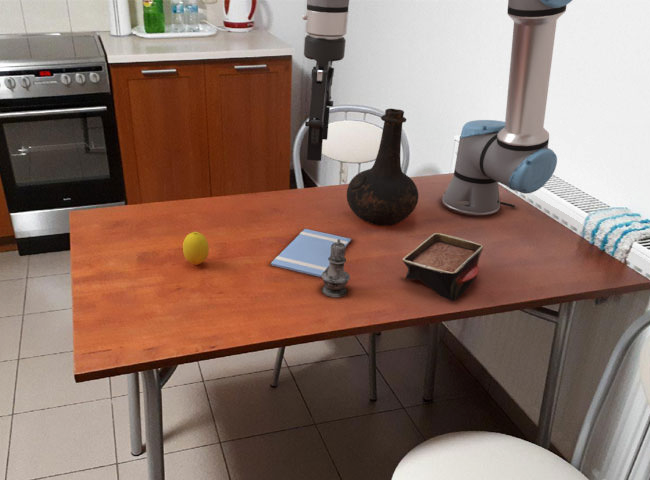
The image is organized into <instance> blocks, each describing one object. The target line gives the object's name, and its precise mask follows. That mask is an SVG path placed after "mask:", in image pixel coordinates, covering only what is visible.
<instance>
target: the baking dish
mask: <svg viewBox="0 0 650 480" xmlns="http://www.w3.org/2000/svg"><path fill="white" fill-rule="evenodd" d="M483 250H484V245H483V244H481V243H478V242H475V241H472V240H469V239H465V238H463V237H458V236H454V235H449V234H446V233H440V232H434V233H432V234H431V235H429V236H428V237H427V238H425V240H423V241H422V242H421V243H420V244H419V245H418V246H417V247H415V248H414V249H413V250H412V251H410V252H409V253H408V254H406V255H405V256H404V257H403V258H402V259H401V260H402V262H403V263H404V264H405V266H406V267H407V272H406V276H405V280H419V281H420V282H422V283H423V284H424V285H425V286H427V287H428V288H430V290H432V291H433V292H434V293H436V294H437V295H439V296H440V297H442V298H444V299H447V300H449V301H451V302H454V301H456V300H458V298H460V297H461V295H463V294H464V293H465V292H466V291H467V290H468V289H469V287H470V286H471V285H472V284H473V282H475V280H476V279H477V277H478V274H479V271H480V268H479V265H478V264H479V261H480V257H481V255H482V252H483Z"/></svg>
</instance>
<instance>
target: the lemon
mask: <svg viewBox="0 0 650 480" xmlns="http://www.w3.org/2000/svg"><path fill="white" fill-rule="evenodd" d="M209 246H210V245H209V242H208V240H207V237H206V236H205V235H204V234H203V233H201V232H197V231H193V232H190V233H188V234H187V235H186V236H185V238H184V240H183V243H182V252H183V253H182V254H183V256H184V258H185V259H186V261H187V262H189V263H191V264H194V265H195V266H198V265H199V264H202V263H204V261H206V259H207V258H208V256H209V251H210V247H209Z"/></svg>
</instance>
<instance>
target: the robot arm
mask: <svg viewBox="0 0 650 480" xmlns="http://www.w3.org/2000/svg"><path fill="white" fill-rule="evenodd" d="M507 1H508V2H507V15H508V17H509V18H510V19H511V20H512V21H513V30H512V38H511V39H512V40H511V50H510V51H511V52H510V63H509V73H508V75H509V76H508V84H507V85H508V87H507V95H506V96H507V97H506V109H505V120H504V121H502V120H496V119H495V120H493V119H477V120H476V119H475V120H469V121H467V122H466V123H464V125H463V126H462V129H461V133H460V136H459V140H458V147H457V153H456V160H455V164H454V171H453V176H452V178H451V180H450V181H449V184H448V186H447V187H446V190H445V191H444V193H443V195H442V199H441V205H442V206H443V207H444V208H445V209H446V210H448V211H450V212H452V213H454V214H456V215H459V216H464V217H470V218H471V217H473V218H488V217H492V216H495V215H497V214H498V213H499V211H500V207H501V206H506V207H509V208H513V209H514V208H515V204H513V203H508V202H504V201H501V199H500V188H499V184H501V185H503V186H506V187H508V188H509V189H510V190H512V191H516V192H518V193H520V194H532V193H535V192H536V191H539V190H540V189H541V188H543V187H544V186H546V184H547V183H548V181H549V180H550V179H551V178H552V176H553V174H554V173H555V171H556V168H557V166H558V165H557V164H558V156H557V154H556V153H555V151H553V149H551V148H549V141H550V133H549V131H548V130H547V129H546V128H545V127H544V126H545V118H546V112H547V111H546V109H547V101H548V95H549V94H548V93H549V86H550V77H551V69H552V62H553V53H554V45H555V38H556V30H557V24H558V23H557V21H558V19H559V18H560V17H562V16H563V15H564V14H565V12H566V11H567V5H569V4H570V3H571V2H572V1H573V0H507ZM349 5H350V0H306V13H304V14H302V20H303V21H306V22H305V32H306V33H307V35H305V37H304V45H303V55H304V57H305V58H306V59H308V60H314V61H315V62H316V63H315V66H314V65H313V67H312V69H311V74H310V77H311V84H310V91H311V94H310V95H311V96H310V104H309V113H308V114H309V115H308V121H304V126H305V127H308V134H307V148H306V149H307V150H306V160H307V161H318V162H321V161H322V155H323V141H324V140H325V141H327V140H328V137H329V135H328V134H329V124H330V123H329V122H330V121H329V120H330V108H332V107H334V100H332V93H331V92H332V86H333V78H334V75H335V67H333V62H339V61H341V60H343V59H344V58H345V53H346V39H345V37H344V36H345V35H346V34H347V31H348V20H349ZM512 204H513V205H512Z"/></svg>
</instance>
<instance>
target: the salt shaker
mask: <svg viewBox="0 0 650 480" xmlns="http://www.w3.org/2000/svg"><path fill="white" fill-rule="evenodd" d="M337 241H338V242H335V243H333V244H332V245H331V254H330V257H329V258H328V260H329V261H330V262H329V268H328V270H326V271H324V272H323V273H322V277H321V279H322V282H323V284H324V286H322V287H321V292H322V293H323V295H325V296H326V297H329V298H342V297H345V296H346V295H347V293H348V289H347V288H346V287H347V284H348V283H349V281H350V279H351V274H349V273H348V272H347V271H346V270H345V263H346V262H347V258H345V256H346V248H345V245H344V244H343V243H341V242H340V239H338V240H337Z"/></svg>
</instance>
